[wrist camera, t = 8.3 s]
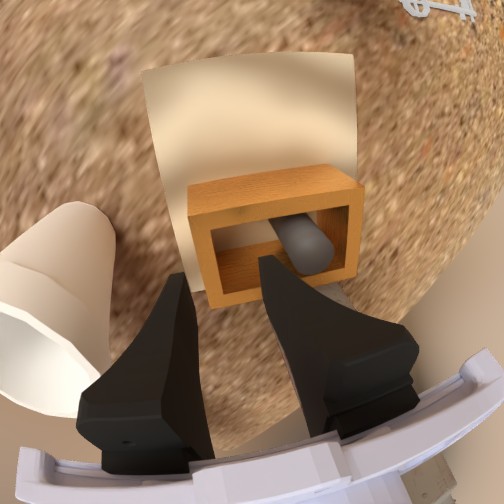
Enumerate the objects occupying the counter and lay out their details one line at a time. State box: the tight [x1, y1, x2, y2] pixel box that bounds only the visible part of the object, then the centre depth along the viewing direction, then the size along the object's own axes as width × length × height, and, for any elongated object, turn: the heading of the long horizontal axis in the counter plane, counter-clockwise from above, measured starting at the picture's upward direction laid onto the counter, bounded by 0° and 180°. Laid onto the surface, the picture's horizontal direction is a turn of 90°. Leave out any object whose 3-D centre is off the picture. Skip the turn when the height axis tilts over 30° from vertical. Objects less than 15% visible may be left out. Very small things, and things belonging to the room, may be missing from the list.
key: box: [399, 0, 477, 22], centre depth 14 cm, size 12×1×3 cm
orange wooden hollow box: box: [187, 164, 365, 309], centre depth 19 cm, size 10×6×5 cm, turn 96°
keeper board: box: [141, 52, 357, 292], centre depth 18 cm, size 17×14×8 cm
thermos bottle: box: [270, 282, 457, 504], centre depth 17 cm, size 8×8×28 cm
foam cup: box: [0, 201, 116, 418], centre depth 15 cm, size 10×9×13 cm
